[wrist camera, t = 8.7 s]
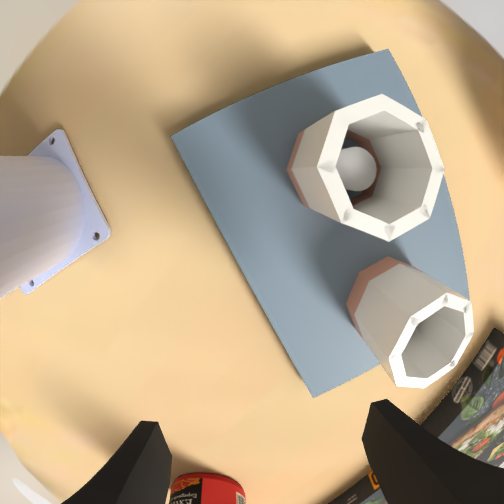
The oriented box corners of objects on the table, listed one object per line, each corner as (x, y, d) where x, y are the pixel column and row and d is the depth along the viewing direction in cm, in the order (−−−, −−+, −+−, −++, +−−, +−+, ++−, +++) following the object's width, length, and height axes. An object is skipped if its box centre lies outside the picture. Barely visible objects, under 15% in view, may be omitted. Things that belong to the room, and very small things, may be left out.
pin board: (308, 385, 20) (322, 426, 16) (175, 139, 16) (155, 127, 11) (459, 297, 20) (493, 319, 15) (378, 56, 15) (412, 31, 11)
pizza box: (551, 378, 27) (561, 387, 24) (432, 506, 34) (438, 517, 31) (491, 324, 22) (512, 340, 18) (301, 517, 28) (305, 536, 25)
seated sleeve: (361, 345, 18) (400, 402, 12) (337, 283, 17) (381, 333, 11) (422, 308, 18) (474, 351, 12) (406, 245, 17) (468, 276, 11)
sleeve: (314, 229, 16) (355, 260, 10) (273, 144, 15) (296, 126, 9) (388, 191, 16) (454, 203, 10) (353, 110, 14) (410, 84, 9)
